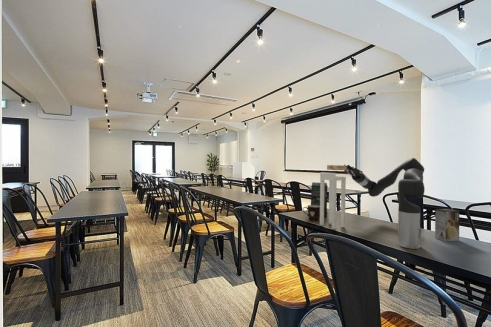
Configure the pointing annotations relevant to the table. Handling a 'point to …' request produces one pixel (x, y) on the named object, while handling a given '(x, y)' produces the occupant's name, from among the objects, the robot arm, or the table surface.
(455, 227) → the coffee box
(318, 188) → the headset box
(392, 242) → the table surface
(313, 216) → the coffee mug
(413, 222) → the robot arm
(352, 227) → the table surface
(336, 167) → the oak paddle
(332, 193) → the white stand
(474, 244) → the table surface
